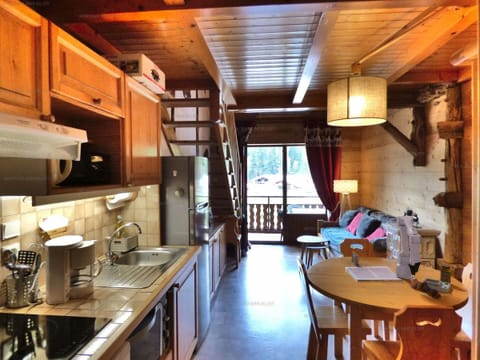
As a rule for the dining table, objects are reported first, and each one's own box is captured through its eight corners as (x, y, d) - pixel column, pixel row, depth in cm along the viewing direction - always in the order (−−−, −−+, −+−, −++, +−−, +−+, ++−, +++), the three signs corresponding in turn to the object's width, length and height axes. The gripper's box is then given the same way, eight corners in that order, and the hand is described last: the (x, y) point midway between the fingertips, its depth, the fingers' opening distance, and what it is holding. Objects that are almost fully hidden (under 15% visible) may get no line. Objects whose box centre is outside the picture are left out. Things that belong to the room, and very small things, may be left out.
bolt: (437, 302, 183) (421, 291, 198) (444, 298, 183) (428, 287, 198) (433, 294, 182) (417, 284, 197) (440, 290, 182) (424, 280, 197)
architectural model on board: (351, 261, 260) (351, 250, 260) (354, 261, 260) (354, 250, 260) (354, 265, 249) (354, 253, 249) (358, 265, 249) (358, 253, 248)
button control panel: (422, 287, 201) (422, 281, 201) (425, 282, 211) (425, 276, 210) (447, 292, 192) (447, 286, 192) (450, 287, 201) (450, 281, 201)
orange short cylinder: (409, 287, 202) (410, 277, 201) (411, 285, 205) (411, 276, 205) (417, 289, 199) (417, 279, 199) (418, 287, 202) (419, 277, 202)
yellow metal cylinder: (453, 283, 209) (453, 266, 208) (447, 286, 204) (448, 268, 204) (441, 280, 215) (442, 263, 214) (435, 282, 210) (436, 265, 210)
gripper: (419, 256, 193) (419, 277, 193) (424, 251, 204) (423, 272, 204) (407, 254, 198) (406, 275, 198) (412, 250, 209) (411, 269, 209)
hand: (414, 273), depth 202 cm, fingers open, 7 cm apart
